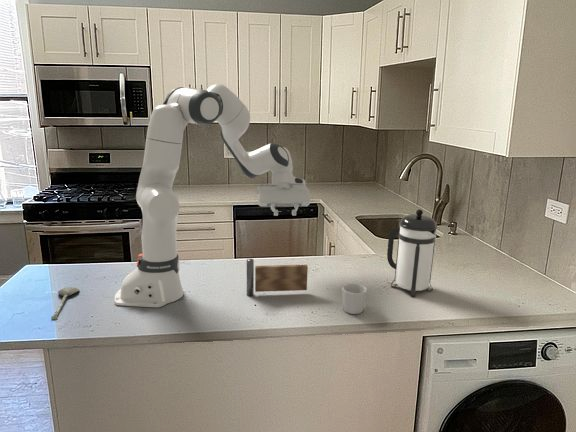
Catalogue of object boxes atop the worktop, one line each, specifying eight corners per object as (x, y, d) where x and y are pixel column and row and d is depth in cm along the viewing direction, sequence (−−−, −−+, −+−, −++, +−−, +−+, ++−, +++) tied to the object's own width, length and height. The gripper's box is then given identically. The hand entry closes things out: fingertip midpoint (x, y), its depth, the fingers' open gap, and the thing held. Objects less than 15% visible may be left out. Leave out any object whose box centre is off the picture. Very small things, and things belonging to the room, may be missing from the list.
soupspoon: (82, 291, 154) (62, 293, 153) (80, 282, 153) (60, 284, 152) (65, 319, 133) (42, 322, 132) (64, 309, 133) (40, 312, 131)
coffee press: (431, 282, 166) (440, 205, 158) (433, 300, 151) (443, 216, 143) (385, 276, 170) (391, 201, 162) (382, 293, 155) (389, 212, 147)
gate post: (246, 296, 150) (246, 261, 147) (246, 293, 153) (246, 258, 149) (253, 296, 151) (253, 261, 147) (253, 293, 153) (253, 258, 150)
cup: (353, 300, 150) (354, 278, 148) (374, 307, 145) (375, 285, 143) (336, 311, 142) (337, 288, 140) (357, 319, 137) (358, 295, 135)
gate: (255, 291, 151) (255, 267, 148) (255, 289, 152) (255, 265, 150) (306, 290, 153) (307, 266, 151) (306, 288, 154) (307, 264, 152)
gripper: (256, 180, 168) (258, 210, 162) (309, 179, 171) (312, 210, 164) (256, 188, 174) (257, 219, 167) (307, 188, 176) (310, 218, 170)
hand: (285, 214), depth 166 cm, fingers open, 5 cm apart
